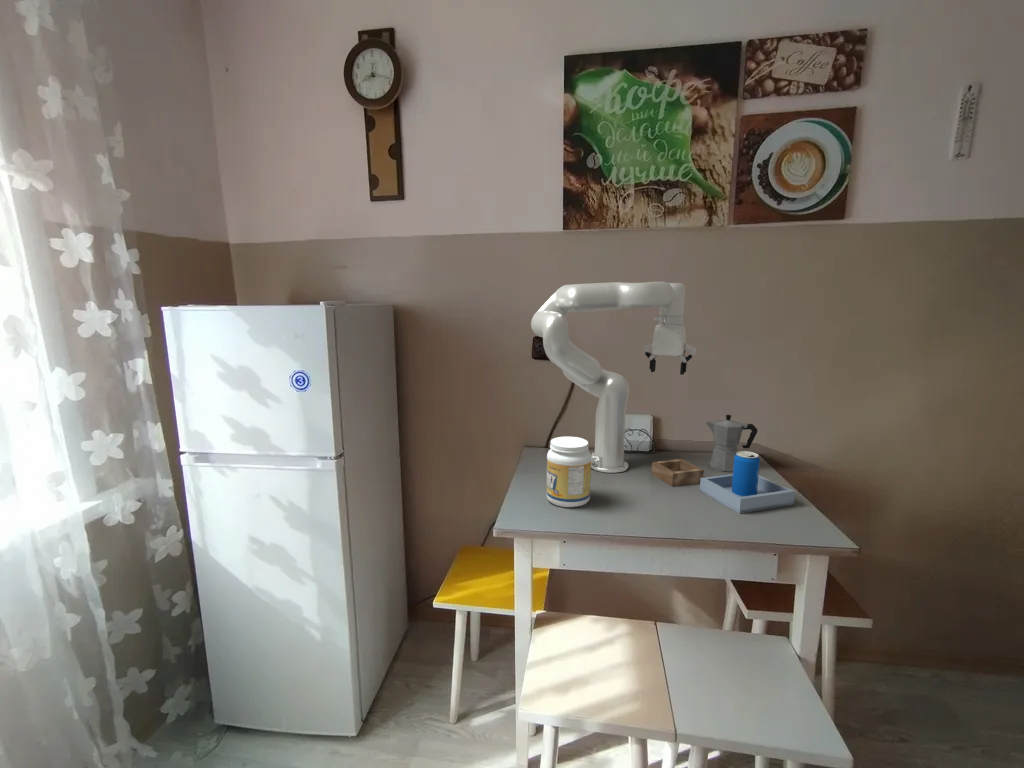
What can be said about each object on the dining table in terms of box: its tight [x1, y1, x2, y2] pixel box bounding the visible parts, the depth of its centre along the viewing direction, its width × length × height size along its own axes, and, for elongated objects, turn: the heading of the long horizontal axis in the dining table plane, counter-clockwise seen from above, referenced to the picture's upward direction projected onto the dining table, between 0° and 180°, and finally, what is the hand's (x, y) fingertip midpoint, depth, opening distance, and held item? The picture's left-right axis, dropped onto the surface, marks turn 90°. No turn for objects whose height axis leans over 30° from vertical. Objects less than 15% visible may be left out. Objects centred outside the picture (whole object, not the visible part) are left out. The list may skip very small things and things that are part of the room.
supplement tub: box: [545, 436, 592, 508], centre depth 139 cm, size 12×12×17 cm
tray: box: [699, 473, 796, 514], centre depth 142 cm, size 18×16×4 cm
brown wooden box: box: [651, 458, 705, 487], centre depth 157 cm, size 11×11×4 cm
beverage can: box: [732, 450, 761, 497], centre depth 141 cm, size 6×6×12 cm
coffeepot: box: [705, 414, 758, 473], centre depth 165 cm, size 15×9×18 cm, turn 67°
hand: (667, 372), depth 168 cm, fingers open, 9 cm apart
